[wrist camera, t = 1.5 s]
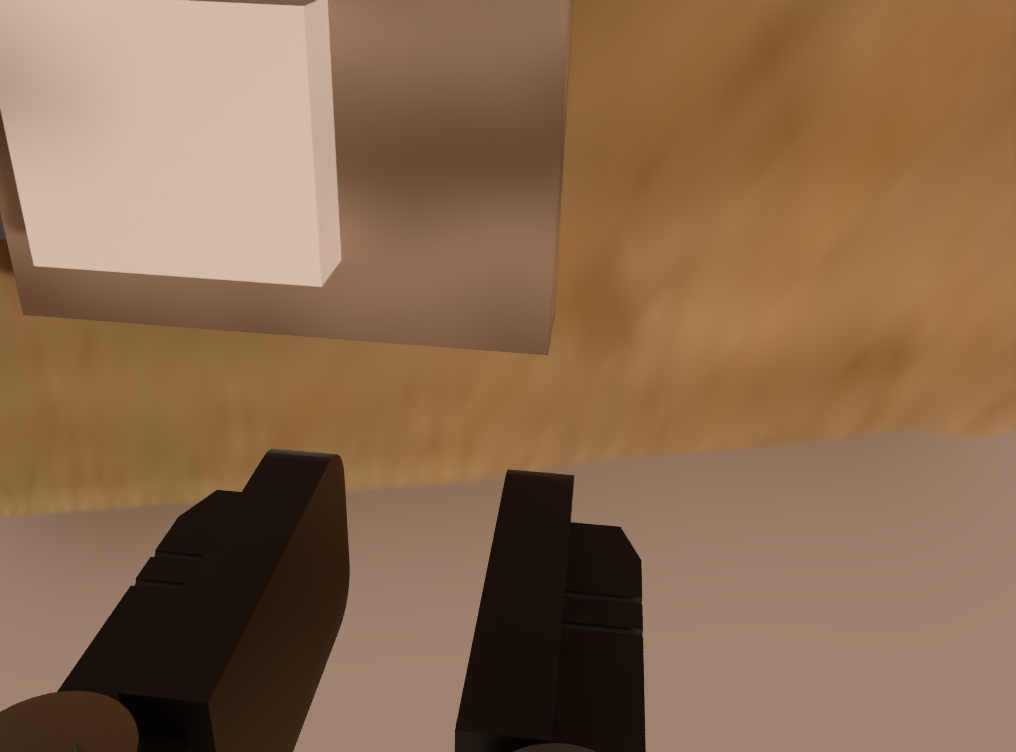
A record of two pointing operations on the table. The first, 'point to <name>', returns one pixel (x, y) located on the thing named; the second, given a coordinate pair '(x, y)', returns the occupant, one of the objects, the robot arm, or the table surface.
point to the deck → (394, 192)
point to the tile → (174, 136)
